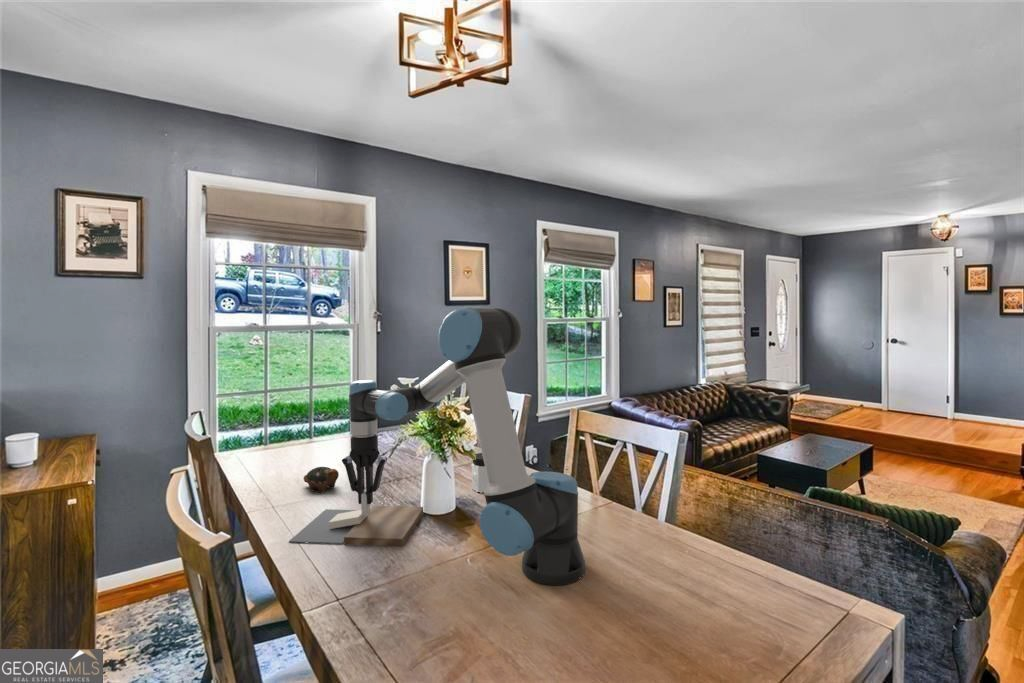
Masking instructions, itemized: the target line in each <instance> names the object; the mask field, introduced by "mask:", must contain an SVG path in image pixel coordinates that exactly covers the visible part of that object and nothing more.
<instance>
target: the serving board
mask: <svg viewBox="0 0 1024 683" xmlns="http://www.w3.org/2000/svg"><path fill="white" fill-rule="evenodd" d="M423 507H424V506H407V505H406V506H402V505H401V506H400V505H372V506H371V507H370V513H369V514H368V515H367V517H366V518H365V519H364V520H363V521H362V522H361V523H360V524H356V525H355V526H354V527H353V528H352V529H351V530H350V531H349V532H348V533H347V534H346V536H345V537H344V543H343V545H347V544H353V545H354V546H377V547H378V546H381V547H384V546H385V547H403V546H404V545H405V543H406V541H407V540H408V538H409V536H411V534H412V532H413V531H414V529H415V528H416V526H417V524H418V523H419V521H420V520H421V518H422V517H423V515H424V514H423Z"/></svg>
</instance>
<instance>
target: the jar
mask: <svg viewBox="0 0 1024 683" xmlns="http://www.w3.org/2000/svg"><path fill="white" fill-rule="evenodd" d="M474 455H476V460H473V459H472V463H471V489H472V488H473V489H474V490H476V491H478V492H485V490H486V489H487V487H488V485H489V481H488V477H487V473H486V468H485V464H484V460H483V455H482V452H479V453H478V452H477V453H474ZM474 490H473V491H474Z"/></svg>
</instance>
